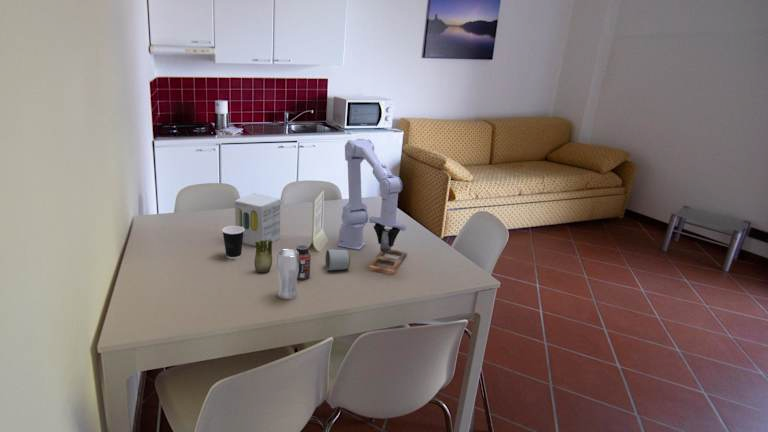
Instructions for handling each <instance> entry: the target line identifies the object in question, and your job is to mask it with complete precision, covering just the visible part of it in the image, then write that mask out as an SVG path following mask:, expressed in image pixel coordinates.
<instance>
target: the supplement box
mask: <svg viewBox="0 0 768 432" xmlns="http://www.w3.org/2000/svg"><path fill="white" fill-rule="evenodd" d="M281 203H282V200H281V197H274V196H270V195H264V194H260V193H255V192H254V193H251V194H249V195H246V196H244V197H243V196H242V197H241V198H238V199H236V200H235V199H234V215H235V216H234V217H235V219H234V220H235V222H234V224H235V225H234V226H240V227H243V228H244V232H243V242H242V244H245V245H249V246H254V247H256V244H255V242H256V241H259V243H260V240H267V246H268V240H272V243H274V242H276V241H278V240H280V239H281V206H282V205H281Z"/></svg>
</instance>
